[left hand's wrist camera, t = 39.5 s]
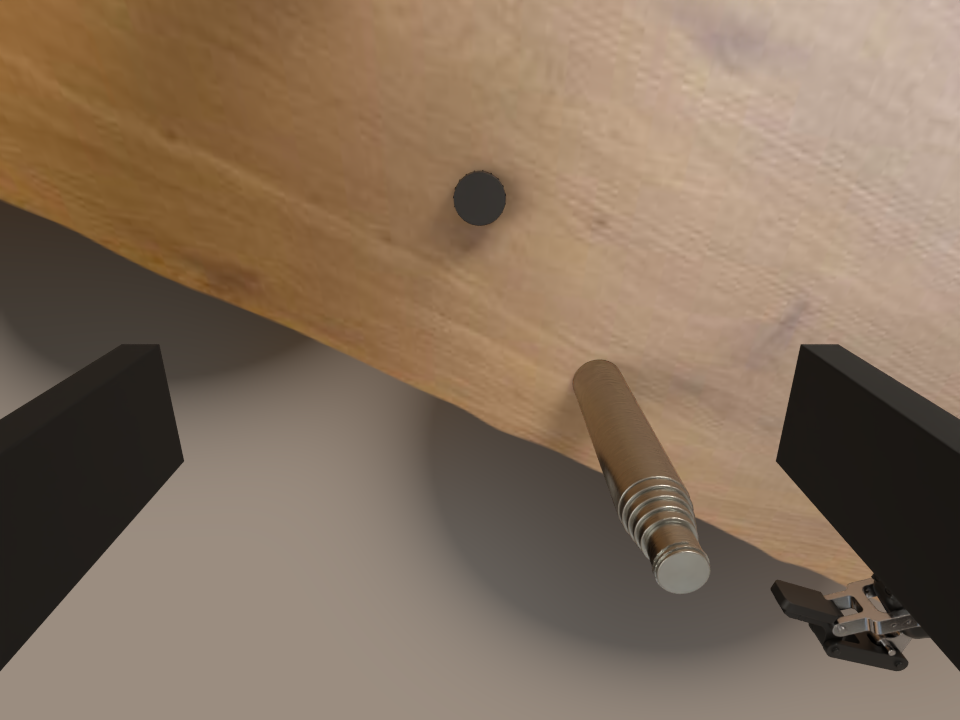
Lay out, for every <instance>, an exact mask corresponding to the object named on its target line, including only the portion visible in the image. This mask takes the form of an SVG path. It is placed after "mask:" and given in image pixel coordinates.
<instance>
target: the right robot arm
mask: <svg viewBox="0 0 960 720" xmlns="http://www.w3.org/2000/svg"><path fill="white" fill-rule="evenodd" d="M871 577H872V578H869V579H865V580H861V581H857V582H853V583H849V584H848V585H847V589H846V590H845V591H841V592H837V593H833V594H828V595H824V596H823V595H822V593H821V592H819V591H815V590H812V589H808V588H805V587H801V586H798V585H794V584H791V583H787V582H784V581H781V580H776V581H775V583H774V584H773V585H772V587H771V591H772V593H773V595H774V596H775V599H776V600H777V602H778V604H779V605H780V607H781V609H782V610H783V612H784V613H785V614H786V615H787V616H788V617H790V618H794V619H798V620H801V621H804V622H808V623H809V627H810V628H811V630H812V631H813V632H814V633H815V635H816V636H817V638H818V640H819V641H820V643H821V644H822V646H823V649H824V650H825V652H826V653H827V655H828V656H830V657H833V658H838V659H842V660H847V661H851V662H856V663H861V664H866V665H870V666H875V667H879V668H884V669H889V670H893V671H901V670H903V669H905V668H906V667H907V666H908V661H907V659H906V658H905V657H904V656H903V654H902V651H903V650H904V649H905V647H906V646H907V645H908V643H909V642H910V641H911V639H912V638H914V639H921V638H930V637H929V635H928V634H927V633H926V632H925V631H924V630H923V629H922V627H921V626H920V625H919V624H918V623H917V622H916V621H915V619H914V618H913V617H912V616H911V615H910V614H909V613H908V611H907V610H906V609H905V608H904V607H903V606H902V605H901V603H900V602H899V601H898V600H897V599H896V598H895V597H894V595H893V594H892V593H891V592H890V591H889V590H888V589H887V587H886V586H885V585H884V584H883V583H882V582H881V581H880V579H879V578H878V577H877V576H876V575H875V574H873V575H872V576H871ZM875 596H878V598H879V600H880V601H881V603H882V605H883V606H884V608H885V610H886V612H887V613H884V612H880V611H878V610H877V609H876V608H875V606H874V605H873V604H872V603H871V601H870V600H869V599H868V598H871V597H875ZM848 608H853V609H855V610H856V611H857V612H858V613H857V614H852V615H848V616H844V615H843V614H842V612H841V611H840V610H844V609H848Z"/></svg>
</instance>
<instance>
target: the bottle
mask: <svg viewBox="0 0 960 720" xmlns="http://www.w3.org/2000/svg"><path fill="white" fill-rule="evenodd" d="M573 388H574V392H575V395H576V397H577V400H578V403H579V406H580V409H581V412H582V414H583V417H584V420H585V423H586V426H587V429H588V432H589V434H590V437H591V440H592V443H593V446H594V449H595V451H596V454H597V457H598V460H599V463H600V466H601V468H602V471H603V474H604V477H605V480H606V483H607V485H608V488H609V491H610V494H611V497H612V500H613V503H614V505H615V508H616V511H617V514H618V517H619V519H620V521H621V523H622V524H623V527H624V529H625V530H626V532H627V533H628V534H629V535H630V537H631V538H632V540H633V541H634V542H635V543H636V544H637V546H638V547H639V549H640V550H641V551H642V552H643V554H644V555H645V557H646V558H647V559H649V560H650V562H651V564H652V571H653V574H654V577H655V579H656V581H657V583H658V584H659V585H660V586H661V587H662V588H663V589H665V590H666V591H668V592H672V593H674V594H685V593H690V592H693V591H695V590H697V589H699V588H700V587H702V586H703V585H704V584H705V583H706V581H707V580H708V578H709V576H710V561H709V559H708V556H707V555H706V554H705V552H704V551H703V550H702V549H701V547H700V545H699V543H698V541H699V536H698V532H697V526H696V522H695V515H694V512H693V505H692V502H691V500H690V496H689V493H688V492H687V490H686V488H685V486H684V484H683V483H682V481H681V479H680V477H679V475H678V474H677V472H676V470H675V468H674V467H673V465H672V463H671V461H670V459H669V458H668V456H667V454H666V452H665V451H664V449H663V447H662V445H661V443H660V442H659V440H658V438H657V436H656V435H655V433H654V431H653V429H652V428H651V426H650V424H649V422H648V420H647V419H646V417H645V415H644V413H643V412H642V410H641V408H640V406H639V404H638V403H637V401H636V399H635V397H634V396H633V394H632V392H631V390H630V388H629V387H628V385H627V383H626V381H625V380H624V378H623V376H622V374H621V372H620V371H619V369H618V368H617V367H616V366H615V365H614V364H613V363H611V362H608V361H605V360H593V361H590V362H587V363H586V364H584V365H583V366H581V367H580V368H579V369H578V371H577V372H576V374H575V376H574V379H573Z"/></svg>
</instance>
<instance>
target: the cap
mask: <svg viewBox="0 0 960 720" xmlns="http://www.w3.org/2000/svg"><path fill="white" fill-rule="evenodd" d="M503 187H504V186H503V185H502V184H501V182H500V181H499V179H498V178H496V177H495V176H494V175H492V173H488V172H485V171H483V170H482V171H474V172H471V173H469V174H466V175H465V176H464V177H463V178H462V179H461V180H459V183H458V185H457V187H455V193H454V196H453V198H454V207H455V208H456V211H457V213H458V215H459V216H460V217H461V218H462V219H463V220H464V221H466V222H468V223H470V224H472V225H478V226H481V225H487V224H490V223H492V222H493V221H495V220H496V219H497V218H498V217H499V216H500V215H501V213H502V211H503V209H504V206H505V199H506V198H505V196H506V194H505V192H504V189H503Z"/></svg>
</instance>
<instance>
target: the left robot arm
mask: <svg viewBox="0 0 960 720" xmlns="http://www.w3.org/2000/svg"><path fill="white" fill-rule="evenodd" d="M183 462H184V459H183V454H182V449H181V444H180V440H179V435H178V430H177V426H176V421H175V416H174V412H173V407H172V402H171V397H170V393H169V388H168V384H167V379H166V374H165V369H164V365H163V360H162V355H161V351H160V346H159V344H122V345H120V346H118V347H117V348H115V349H114V350H112V351H110V352H109V353H107V354H106V355H104V356H102V357H101V358H99V359H98V360H96V361H94V362H93V363H91V364H89V365H88V366H86V367H85V368H83V369H81V370H80V371H78V372H76V373H75V374H73V375H72V376H70V377H68V378H67V379H65V380H63V381H62V382H60V383H59V384H57V385H55V386H54V387H52V388H51V389H49V390H47V391H46V392H44V393H43V394H41V395H39V396H38V397H36V398H34V399H33V400H31V401H29V402H28V403H26V404H25V405H23V406H21V407H20V408H18V409H17V410H15V411H13V412H12V413H10V414H8V415H7V416H5V417H4V418H2V419H0V671H1V670H2V669H3V667H4V666H5V665H6V664H7V663H8V662H9V661H10V659H11V658H12V657H13V656H14V655H15V654H16V653H17V651H18V650H19V649H20V648H21V647H22V646H23V645H24V643H25V642H26V641H27V640H28V639H29V638H30V637H31V635H32V634H33V633H34V632H35V631H36V630H37V628H38V627H39V626H40V625H41V624H42V623H43V622H44V621H45V619H46V618H47V617H48V616H49V615H50V614H51V613H52V611H53V610H54V609H55V608H56V607H57V606H58V605H59V603H60V602H61V601H62V600H63V599H64V598H65V597H66V595H67V594H68V593H69V592H70V591H71V590H72V589H73V587H74V586H75V585H76V584H77V583H78V582H79V581H80V579H81V578H82V577H83V576H84V575H85V574H86V573H87V571H88V570H89V569H90V568H91V567H92V566H93V565H94V563H95V562H96V561H97V560H98V559H99V558H100V557H101V555H102V554H103V553H104V552H105V551H106V550H107V549H108V547H109V546H110V545H111V544H112V543H113V542H114V541H115V539H116V538H117V537H118V536H119V535H120V534H121V533H122V531H123V530H124V529H125V528H126V527H127V526H128V525H129V523H130V522H131V521H132V520H133V519H134V518H135V517H136V515H137V514H138V513H139V512H140V511H141V510H142V509H143V507H144V506H145V505H146V504H147V503H148V502H149V501H150V500H151V498H152V497H153V496H154V495H155V494H156V493H157V492H158V490H159V489H160V488H161V487H162V486H163V485H164V484H165V482H166V481H167V480H168V479H169V478H170V477H171V476H172V474H173V473H174V472H175V471H176V470H177V469H178V468H179V466H180V465H181V464H182V463H183ZM776 462H777V463H778V464H779V465H780V466H781V468H782V469H783V470H784V471H785V472H786V473H787V474H788V476H789V477H790V478H791V479H792V480H793V481H794V482H795V484H796V485H797V486H798V487H799V488H800V489H801V490H802V492H803V493H804V494H805V495H806V496H807V497H808V498H809V500H810V501H811V502H812V503H813V504H814V505H815V506H816V508H817V509H818V510H819V511H820V512H821V513H822V514H823V516H824V517H825V518H826V519H827V520H828V521H829V522H830V524H831V525H832V526H833V527H834V528H835V529H836V530H837V531H838V533H839V534H840V535H841V536H842V537H843V538H844V539H845V541H846V542H847V543H848V544H849V545H850V546H851V547H852V549H853V550H854V551H855V552H856V553H857V554H858V555H859V557H860V558H861V559H862V560H863V561H864V562H865V563H866V565H867V566H868V567H869V568H870V569H871V570H872V571H873V573H874V574H875V575H876V576H877V577H878V578H879V579H880V581H881V582H882V583H883V584H884V585H885V586H886V587H887V589H888V590H889V591H890V592H891V593H892V594H893V595H894V597H895V598H896V599H897V600H898V601H899V602H900V603H901V605H902V606H903V607H904V608H905V609H906V610H907V611H908V613H909V614H910V615H911V616H912V617H913V618H914V619H915V621H916V622H917V623H918V624H919V625H920V626H921V627H922V629H923V630H924V631H925V632H926V633H927V634H928V635H929V637H930V638H931V639H932V640H933V641H934V642H935V643H936V645H937V646H938V647H939V648H940V649H941V650H942V651H943V653H944V654H945V655H946V656H947V657H948V658H949V659H950V661H951V662H952V663H953V664H954V665H955V666H956V667H957V669H958V670H959V671H960V419H958V418H956V417H955V416H953V415H952V414H950V413H948V412H947V411H945V410H943V409H942V408H940V407H939V406H937V405H935V404H934V403H932V402H931V401H929V400H927V399H926V398H924V397H922V396H921V395H919V394H918V393H916V392H914V391H913V390H911V389H909V388H908V387H906V386H905V385H903V384H901V383H900V382H898V381H897V380H895V379H893V378H892V377H890V376H888V375H887V374H885V373H884V372H882V371H880V370H879V369H877V368H876V367H874V366H872V365H871V364H869V363H867V362H866V361H864V360H863V359H861V358H859V357H858V356H856V355H854V354H853V353H851V352H850V351H848V350H846V349H845V348H843V347H842V346H840V345H838V344H801V346H800V351H799V355H798V360H797V365H796V369H795V374H794V379H793V383H792V388H791V393H790V397H789V402H788V407H787V412H786V416H785V421H784V426H783V430H782V435H781V440H780V444H779V449H778V454H777V458H776Z"/></svg>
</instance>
